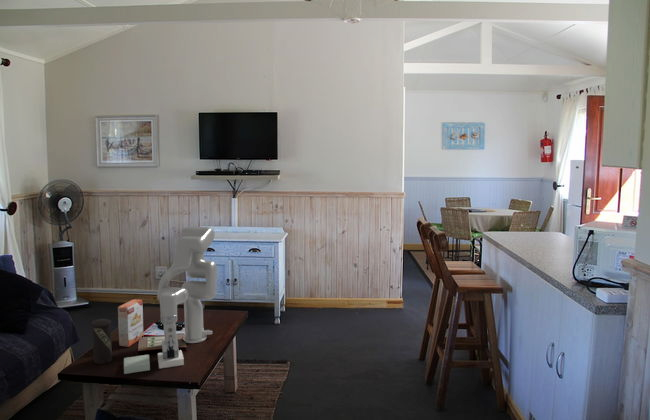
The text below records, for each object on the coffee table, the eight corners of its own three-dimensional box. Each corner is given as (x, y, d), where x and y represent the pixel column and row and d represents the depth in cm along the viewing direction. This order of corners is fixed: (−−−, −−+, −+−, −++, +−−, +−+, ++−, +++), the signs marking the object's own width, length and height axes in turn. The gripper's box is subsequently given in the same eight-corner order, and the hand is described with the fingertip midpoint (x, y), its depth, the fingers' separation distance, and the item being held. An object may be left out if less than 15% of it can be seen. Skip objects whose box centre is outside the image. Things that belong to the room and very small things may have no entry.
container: (100, 366, 232) (98, 325, 230) (89, 361, 237) (86, 321, 234) (117, 359, 239) (114, 319, 237) (105, 355, 244) (103, 316, 242)
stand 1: (149, 360, 239) (148, 354, 238) (150, 370, 229) (149, 363, 228) (124, 363, 235) (124, 357, 234) (124, 373, 225) (123, 367, 224)
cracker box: (129, 347, 254) (127, 307, 251) (118, 346, 255) (116, 306, 252) (144, 337, 268) (142, 299, 265) (134, 336, 269) (132, 298, 266)
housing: (177, 352, 240) (177, 336, 239) (178, 357, 235) (178, 340, 234) (162, 354, 238) (161, 338, 237) (163, 359, 233) (162, 343, 232)
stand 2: (181, 355, 244) (181, 349, 244) (183, 364, 234) (183, 358, 234) (157, 359, 240) (157, 353, 240) (159, 368, 230) (158, 362, 230)
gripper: (179, 323, 228) (180, 361, 230) (175, 311, 244) (177, 347, 246) (161, 325, 225) (163, 363, 227) (159, 313, 241) (161, 349, 243)
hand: (170, 354), depth 237 cm, fingers closed on housing, 5 cm apart
